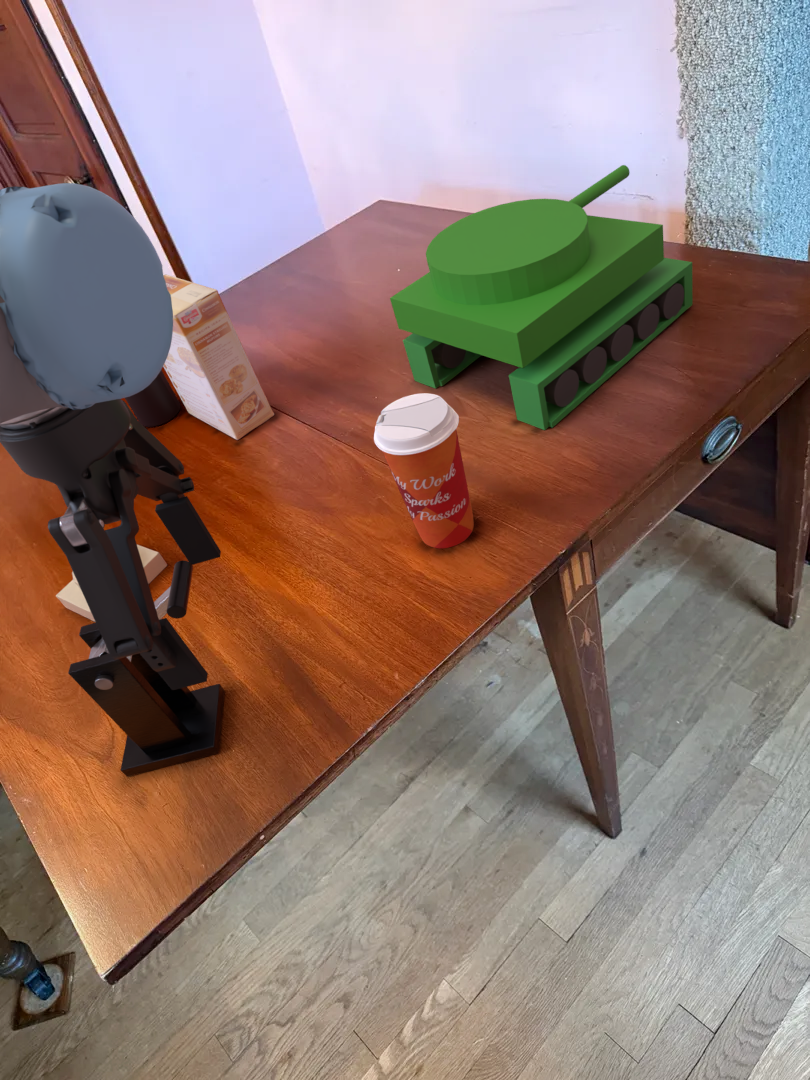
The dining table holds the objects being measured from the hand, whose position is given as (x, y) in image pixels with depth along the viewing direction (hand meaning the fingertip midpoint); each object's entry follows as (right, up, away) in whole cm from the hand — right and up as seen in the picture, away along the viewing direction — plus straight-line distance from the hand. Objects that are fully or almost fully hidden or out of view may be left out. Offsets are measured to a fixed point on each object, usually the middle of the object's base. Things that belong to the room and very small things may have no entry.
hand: (199, 615), depth 60 cm
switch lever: (-4, -1, +1) cm, 4 cm away
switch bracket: (-5, -12, +10) cm, 16 cm away
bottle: (-21, +25, +56) cm, 65 cm away
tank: (+38, +34, +42) cm, 66 cm away
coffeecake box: (-9, +25, +51) cm, 57 cm away
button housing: (-17, +1, +28) cm, 33 cm away
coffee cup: (+21, +7, +20) cm, 30 cm away
